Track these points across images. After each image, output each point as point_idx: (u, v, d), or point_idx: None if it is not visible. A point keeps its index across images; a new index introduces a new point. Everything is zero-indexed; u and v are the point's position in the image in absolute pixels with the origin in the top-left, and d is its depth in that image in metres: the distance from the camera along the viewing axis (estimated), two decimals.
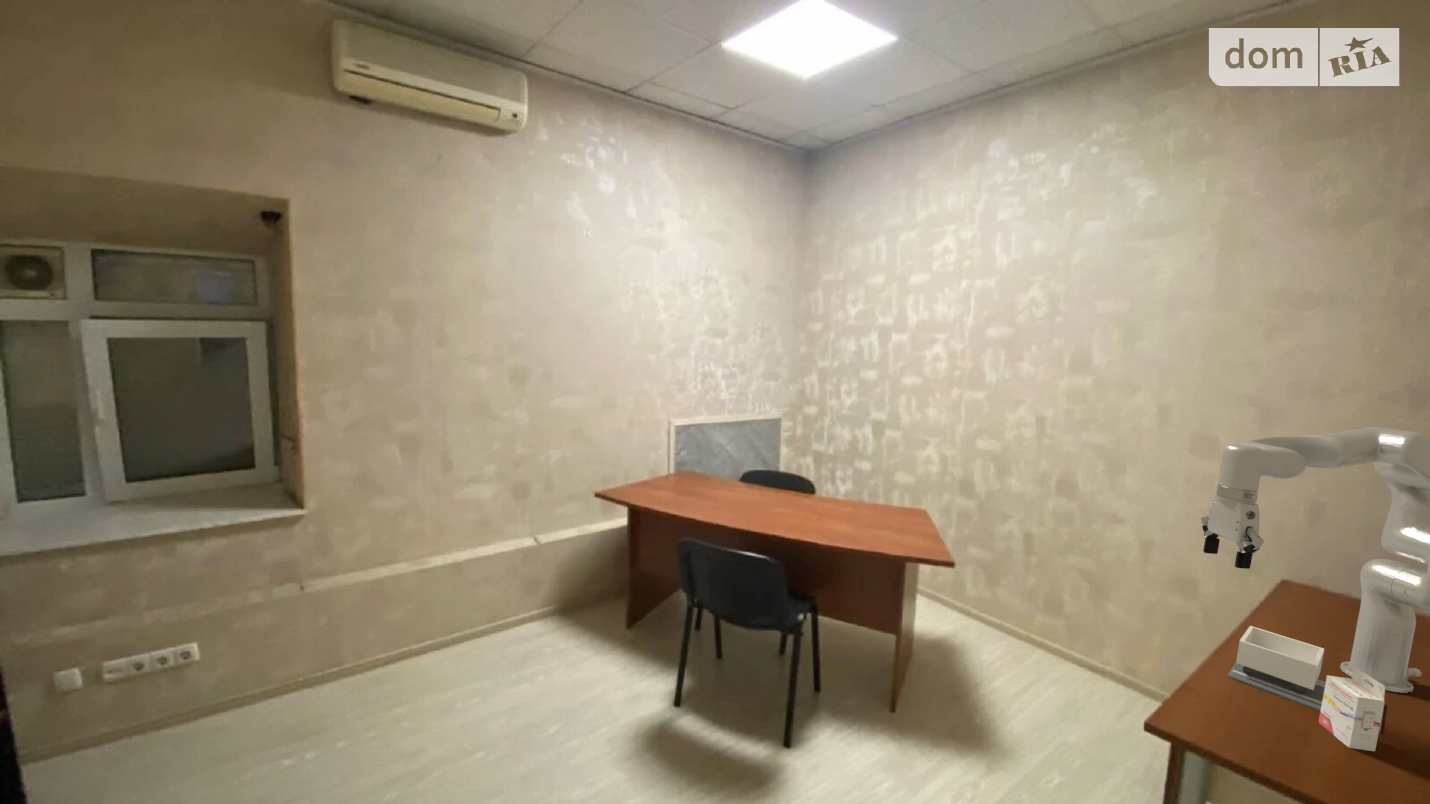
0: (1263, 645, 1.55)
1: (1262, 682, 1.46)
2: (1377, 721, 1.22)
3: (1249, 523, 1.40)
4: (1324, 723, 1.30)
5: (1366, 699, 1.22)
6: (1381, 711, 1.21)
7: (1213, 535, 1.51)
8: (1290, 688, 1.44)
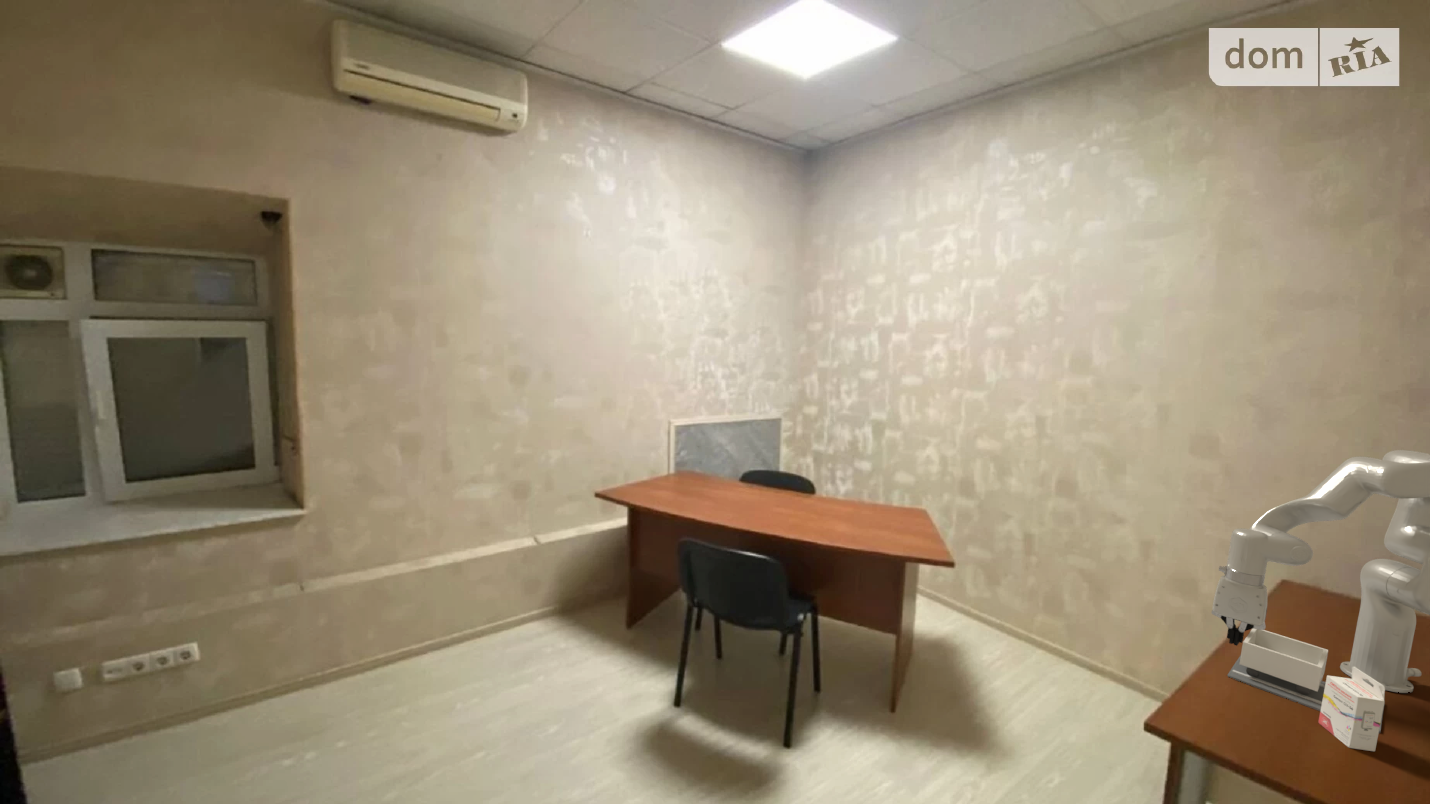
0: (1267, 646, 1.54)
1: (1262, 682, 1.46)
2: (1377, 721, 1.22)
3: None
4: (1324, 723, 1.30)
5: (1366, 699, 1.22)
6: (1381, 711, 1.21)
7: (1239, 626, 1.54)
8: (1290, 688, 1.44)
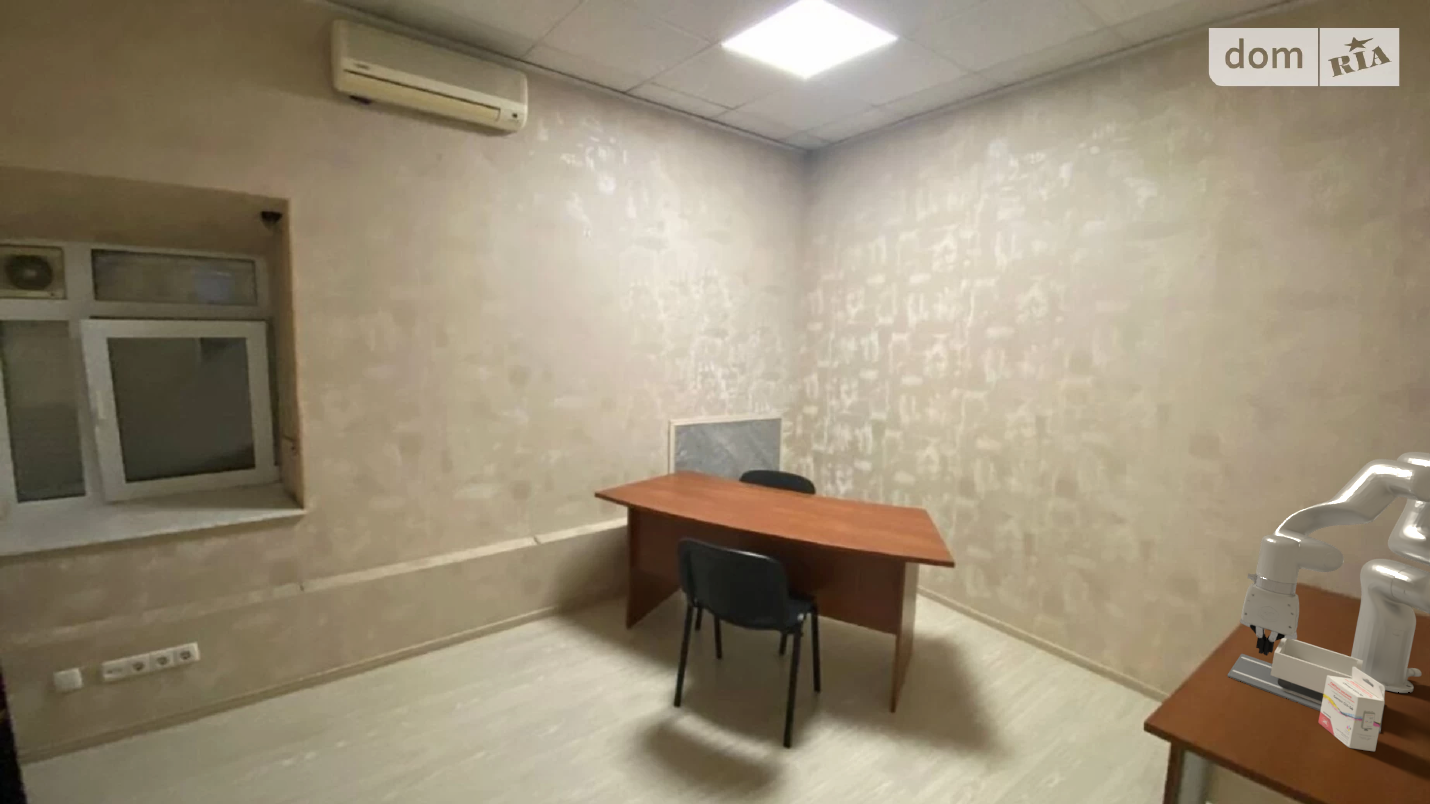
0: (1297, 656, 1.50)
1: (1262, 682, 1.46)
2: (1377, 721, 1.22)
3: None
4: (1324, 723, 1.30)
5: (1366, 699, 1.22)
6: (1381, 711, 1.21)
7: (1269, 636, 1.49)
8: (1290, 688, 1.44)
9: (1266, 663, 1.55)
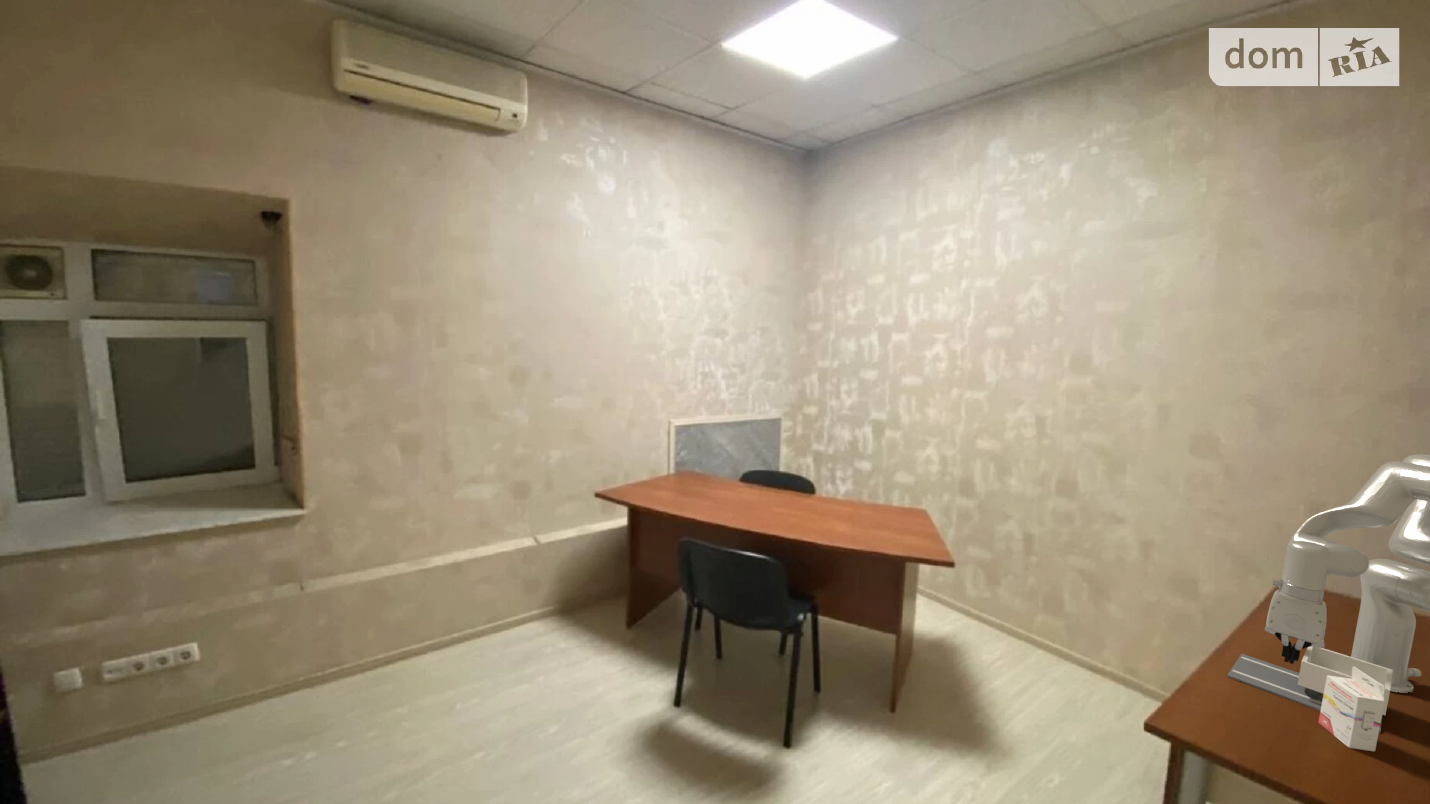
0: (1324, 665, 1.46)
1: (1262, 682, 1.46)
2: (1377, 721, 1.22)
3: None
4: (1324, 723, 1.30)
5: (1366, 699, 1.22)
6: (1381, 711, 1.21)
7: (1295, 644, 1.45)
8: (1290, 688, 1.44)
9: (1266, 663, 1.55)
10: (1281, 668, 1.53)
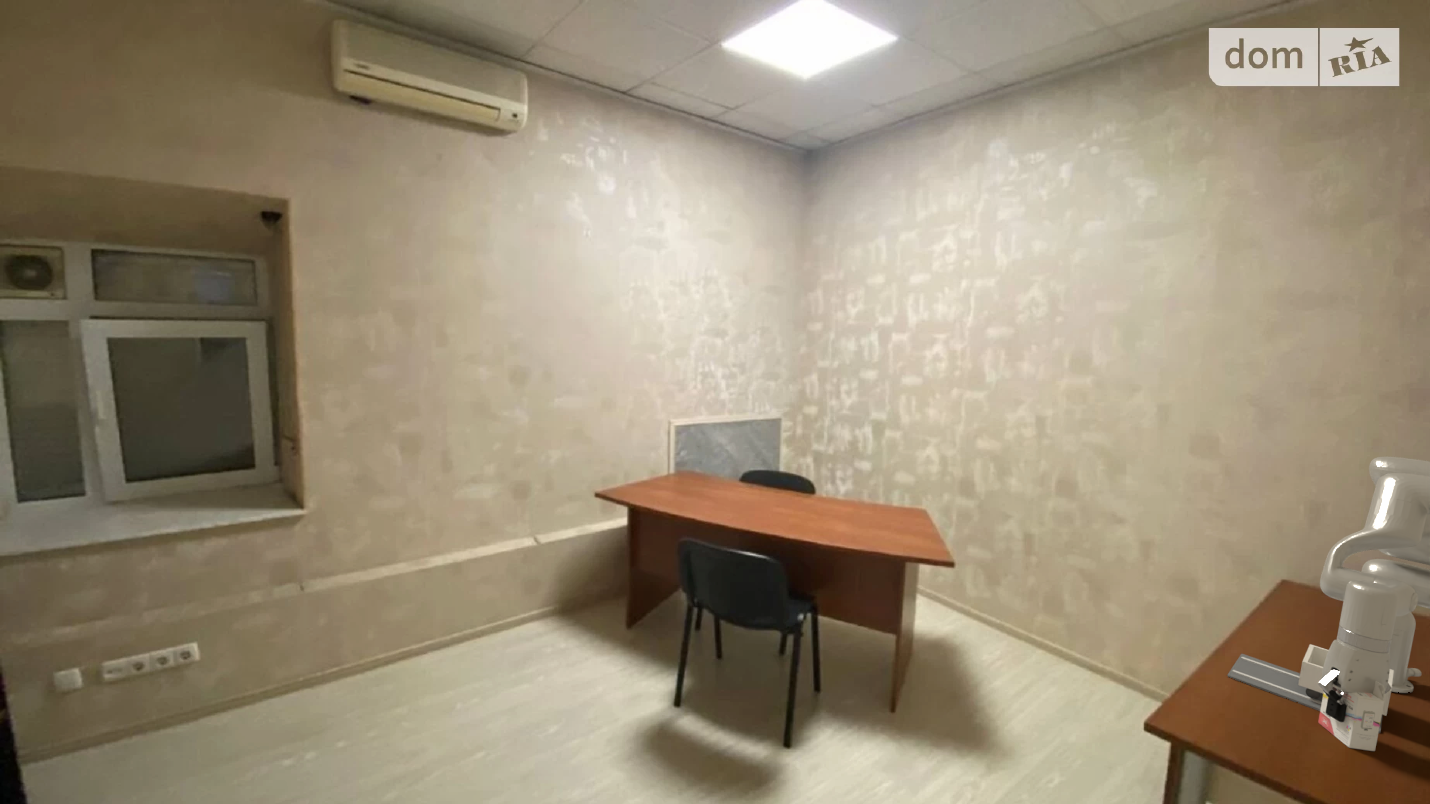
0: None
1: (1262, 682, 1.46)
2: (1377, 721, 1.22)
3: None
4: (1324, 723, 1.30)
5: (1366, 699, 1.22)
6: (1381, 711, 1.21)
7: None
8: (1290, 688, 1.44)
9: (1266, 663, 1.55)
10: (1281, 668, 1.53)
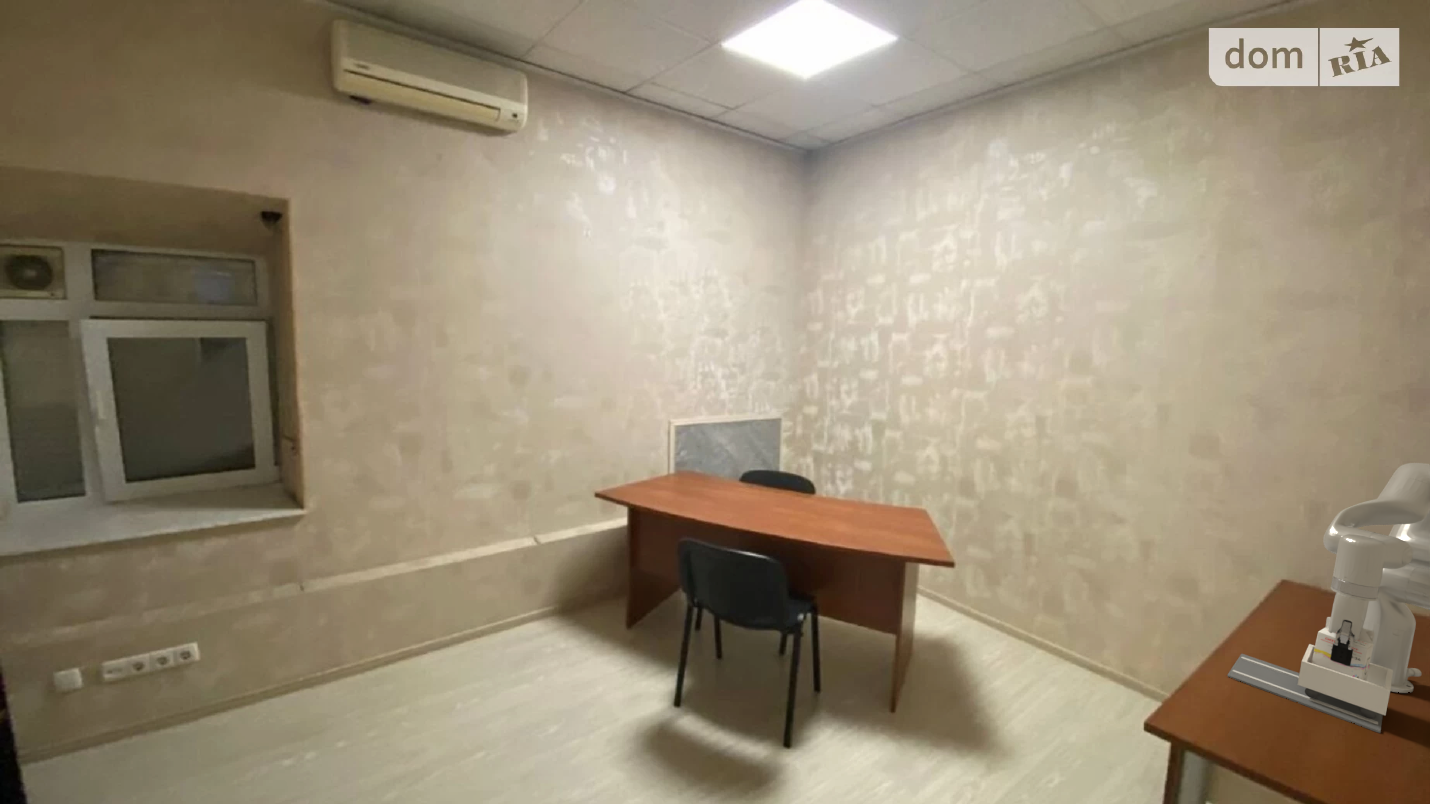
0: None
1: (1262, 682, 1.46)
2: (1369, 663, 1.36)
3: None
4: None
5: (1369, 647, 1.35)
6: (1371, 653, 1.36)
7: None
8: (1290, 688, 1.44)
9: (1266, 663, 1.55)
10: (1281, 668, 1.53)
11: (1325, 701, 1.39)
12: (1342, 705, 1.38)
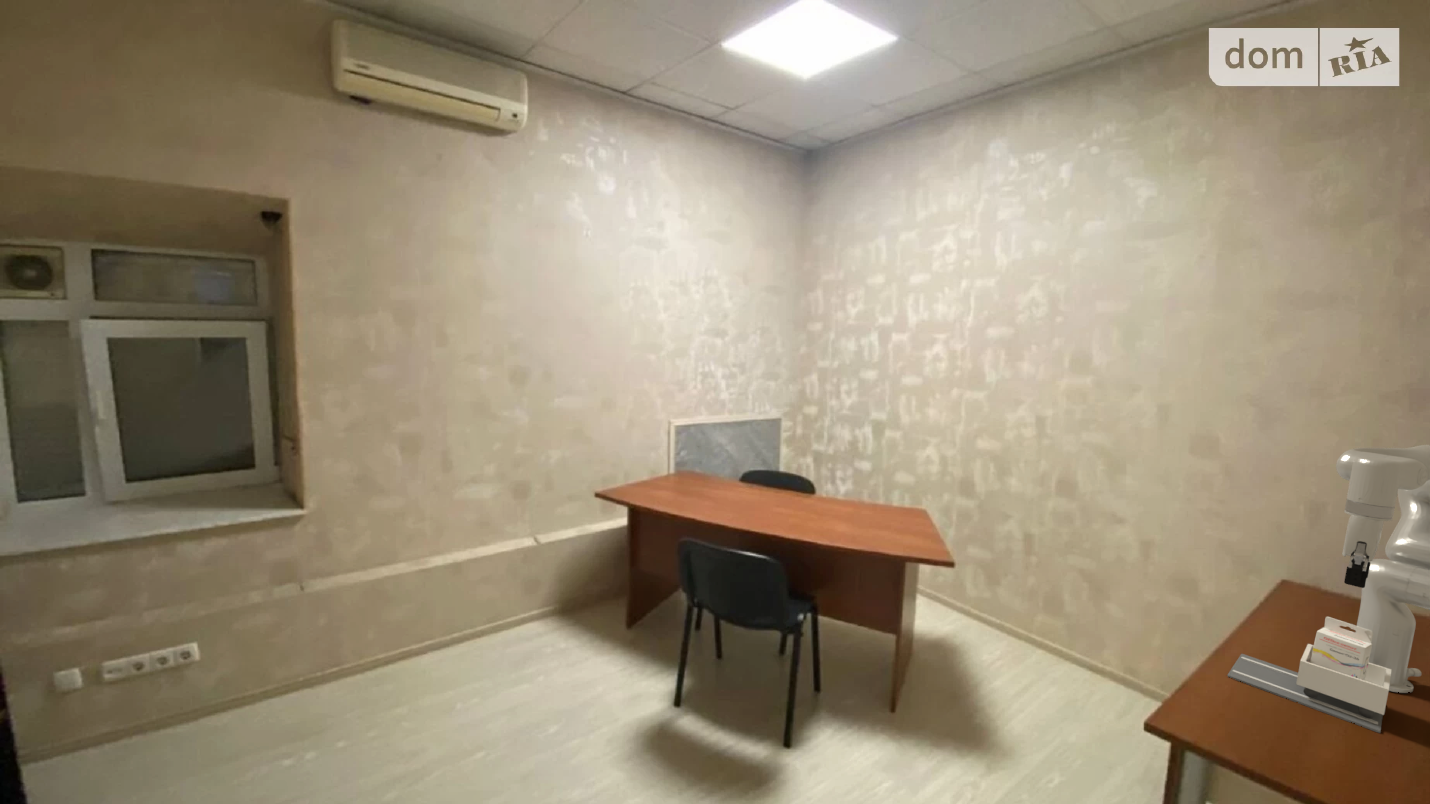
0: None
1: (1262, 682, 1.46)
2: (1367, 663, 1.37)
3: None
4: None
5: (1367, 647, 1.35)
6: None
7: None
8: (1290, 688, 1.44)
9: (1266, 663, 1.55)
10: (1281, 668, 1.53)
11: (1325, 701, 1.39)
12: (1342, 705, 1.38)
